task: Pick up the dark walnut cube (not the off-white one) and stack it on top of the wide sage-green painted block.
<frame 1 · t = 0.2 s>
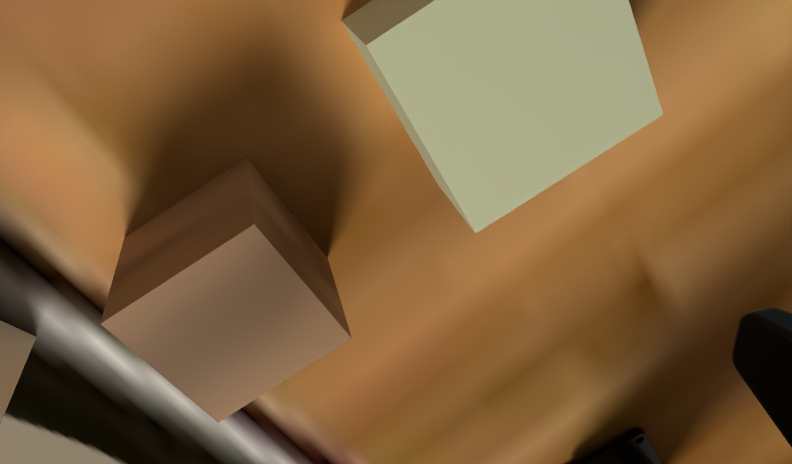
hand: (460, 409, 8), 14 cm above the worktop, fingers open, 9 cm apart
walnut cube: (231, 246, 22), on the worktop
sage base block: (478, 53, 21), on the worktop
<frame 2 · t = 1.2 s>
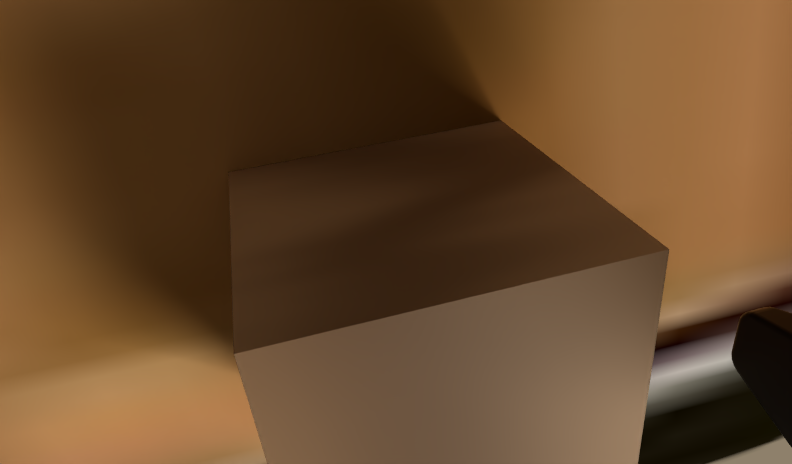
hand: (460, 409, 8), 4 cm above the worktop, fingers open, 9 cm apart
walnut cube: (384, 260, 12), on the worktop
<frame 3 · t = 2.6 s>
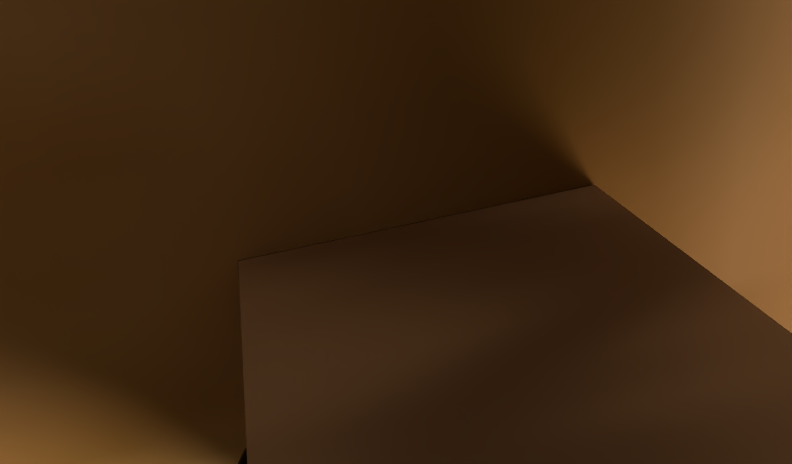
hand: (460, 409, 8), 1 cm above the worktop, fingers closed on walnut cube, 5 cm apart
walnut cube: (437, 361, 9), on the worktop, touching gripper
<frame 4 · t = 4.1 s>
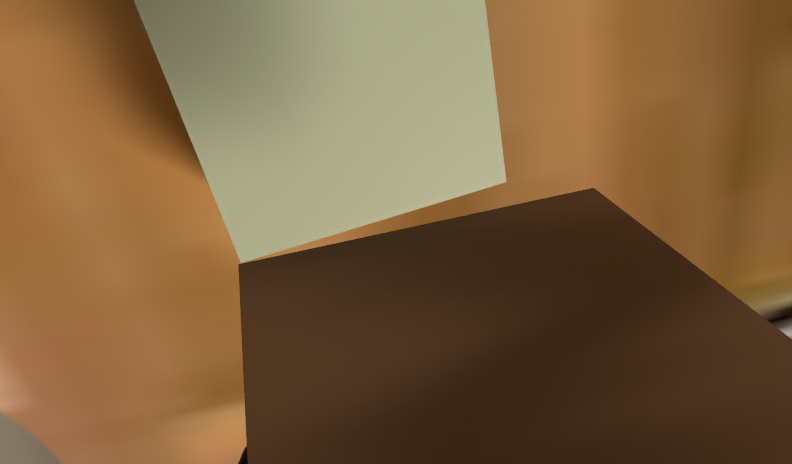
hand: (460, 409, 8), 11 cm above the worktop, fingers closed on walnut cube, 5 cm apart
walnut cube: (437, 363, 9), point 10 cm above the worktop, touching gripper
sage base block: (319, 50, 17), on the worktop
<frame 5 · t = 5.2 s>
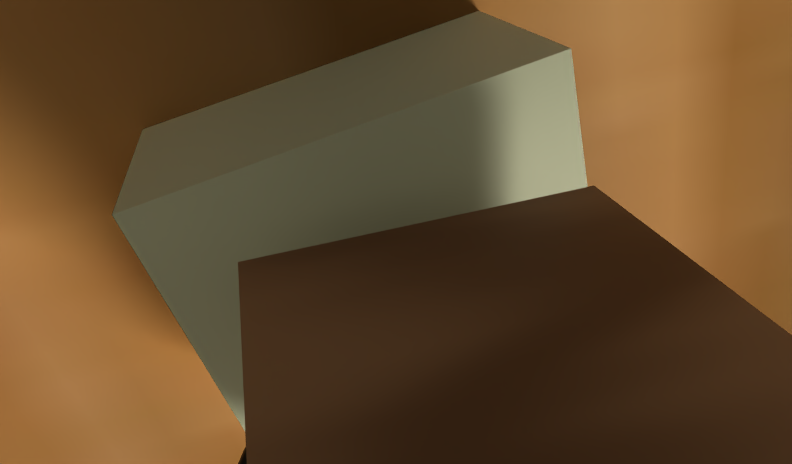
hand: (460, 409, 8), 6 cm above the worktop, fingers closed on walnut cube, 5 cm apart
walnut cube: (437, 361, 9), point 5 cm above the worktop, touching gripper
sage base block: (364, 211, 14), on the worktop
when the fingers open (6 cm above the worktop, at t = 5.9 s): walnut cube drops 1 cm, point 4 cm above the worktop.
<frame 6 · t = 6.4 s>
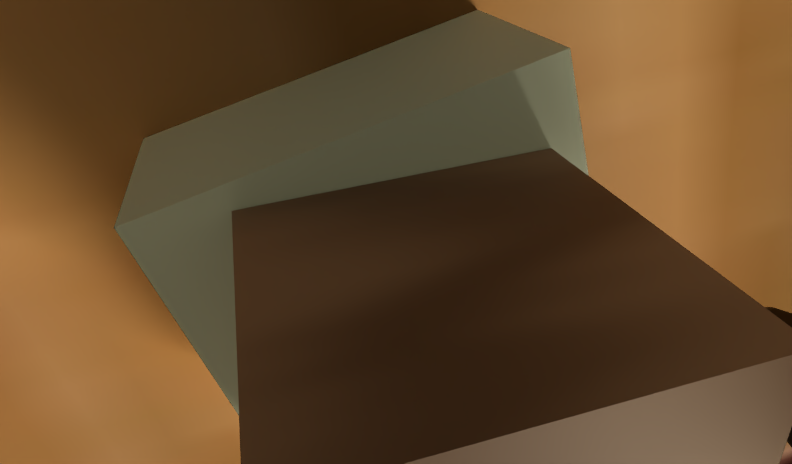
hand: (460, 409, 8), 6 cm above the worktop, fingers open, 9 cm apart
walnut cube: (412, 309, 10), point 4 cm above the worktop
sage base block: (367, 213, 14), on the worktop
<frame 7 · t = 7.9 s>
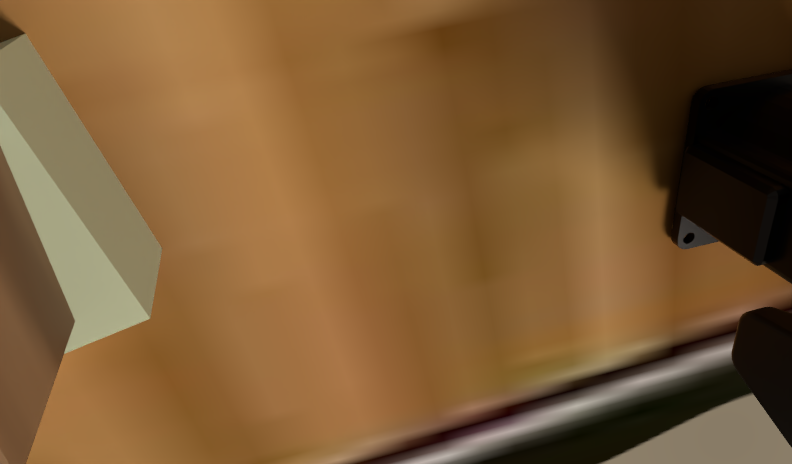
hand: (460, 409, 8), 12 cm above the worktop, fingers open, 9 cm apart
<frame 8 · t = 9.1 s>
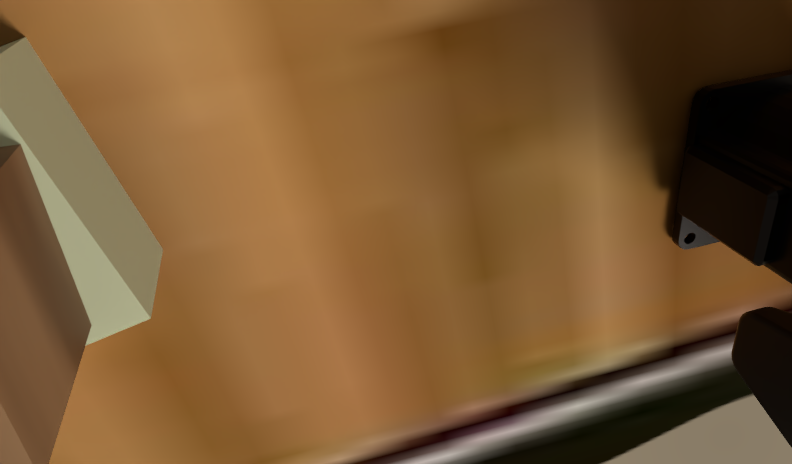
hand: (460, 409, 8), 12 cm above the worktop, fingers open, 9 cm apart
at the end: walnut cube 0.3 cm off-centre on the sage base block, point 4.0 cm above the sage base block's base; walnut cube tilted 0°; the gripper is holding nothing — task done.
